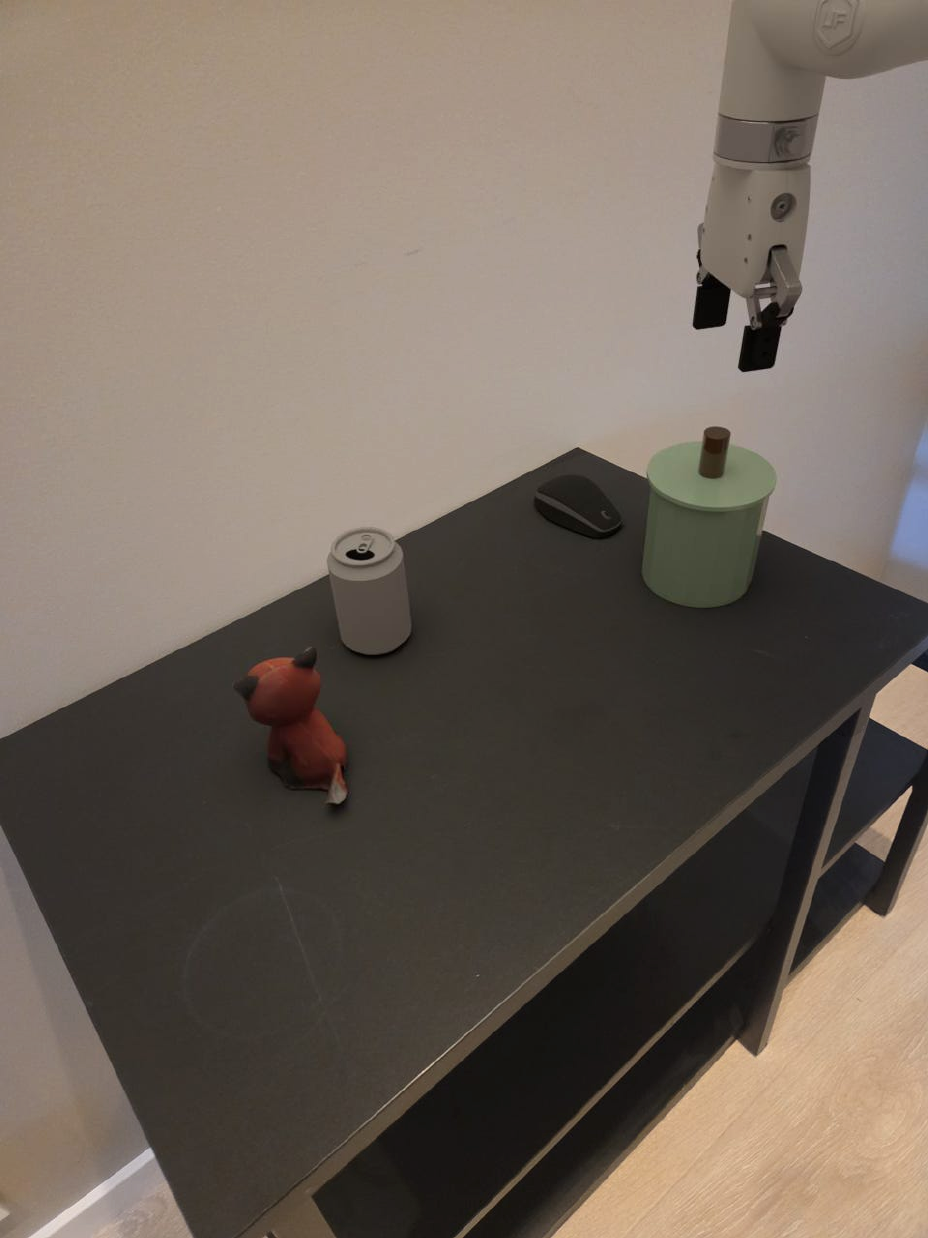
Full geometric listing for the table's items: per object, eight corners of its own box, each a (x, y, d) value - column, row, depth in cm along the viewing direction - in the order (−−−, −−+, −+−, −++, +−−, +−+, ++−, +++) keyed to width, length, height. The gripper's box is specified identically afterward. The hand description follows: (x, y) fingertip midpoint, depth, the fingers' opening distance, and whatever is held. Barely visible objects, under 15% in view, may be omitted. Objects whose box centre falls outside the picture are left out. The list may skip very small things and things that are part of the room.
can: (331, 655, 89) (312, 562, 82) (355, 609, 95) (339, 517, 87) (400, 664, 88) (387, 570, 80) (420, 617, 93) (410, 524, 86)
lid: (739, 443, 95) (748, 394, 91) (798, 505, 85) (810, 454, 81) (628, 460, 93) (632, 412, 89) (674, 526, 83) (681, 474, 80)
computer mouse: (594, 546, 101) (596, 518, 99) (521, 506, 109) (521, 478, 106) (634, 522, 105) (636, 494, 102) (561, 484, 112) (561, 457, 109)
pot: (722, 536, 102) (738, 441, 94) (769, 597, 93) (792, 498, 85) (626, 552, 100) (635, 457, 92) (665, 616, 91) (678, 517, 83)
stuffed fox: (312, 836, 72) (286, 741, 65) (244, 761, 79) (213, 666, 71) (384, 787, 76) (368, 690, 68) (313, 718, 83) (291, 623, 75)
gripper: (868, 158, 62) (817, 381, 74) (757, 112, 75) (728, 308, 87) (771, 169, 61) (734, 393, 73) (676, 121, 74) (657, 317, 86)
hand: (731, 346), depth 80 cm, fingers open, 9 cm apart
